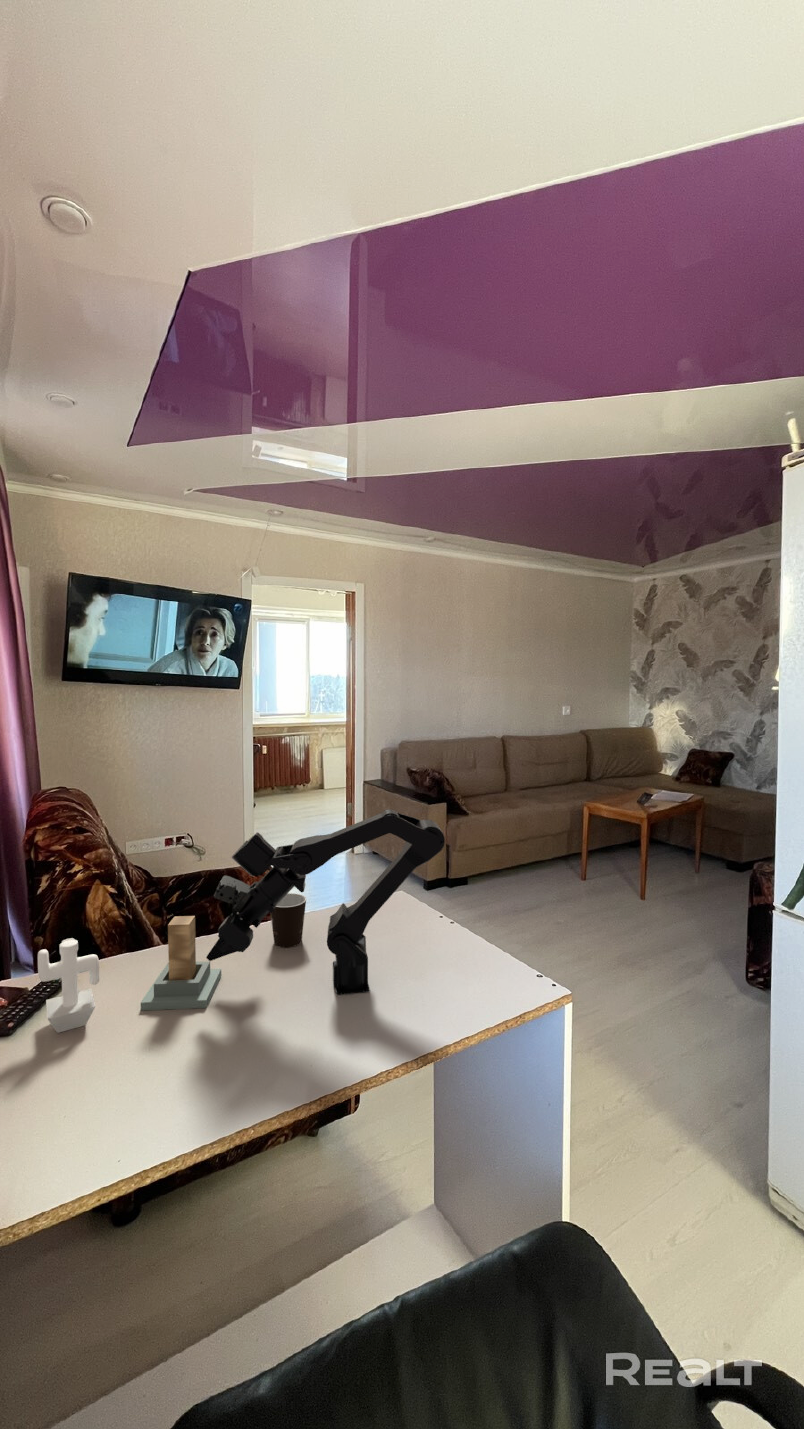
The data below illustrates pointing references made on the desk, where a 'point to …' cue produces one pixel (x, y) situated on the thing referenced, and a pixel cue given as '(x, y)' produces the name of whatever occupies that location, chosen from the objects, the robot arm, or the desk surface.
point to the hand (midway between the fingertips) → (214, 947)
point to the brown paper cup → (288, 920)
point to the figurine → (69, 986)
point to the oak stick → (182, 948)
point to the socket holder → (182, 990)
